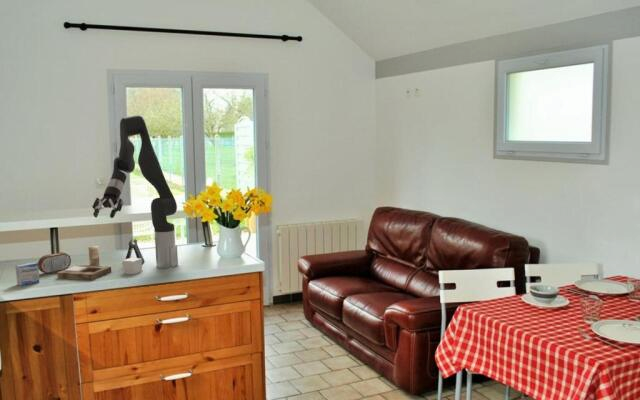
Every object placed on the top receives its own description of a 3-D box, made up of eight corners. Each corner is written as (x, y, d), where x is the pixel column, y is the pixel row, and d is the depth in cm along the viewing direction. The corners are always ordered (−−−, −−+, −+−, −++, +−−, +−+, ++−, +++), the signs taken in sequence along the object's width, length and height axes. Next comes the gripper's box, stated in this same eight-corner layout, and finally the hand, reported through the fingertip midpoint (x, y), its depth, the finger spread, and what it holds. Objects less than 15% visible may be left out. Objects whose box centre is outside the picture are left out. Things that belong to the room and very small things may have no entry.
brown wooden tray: (111, 271, 275) (111, 266, 275) (92, 280, 262) (92, 274, 261) (77, 270, 280) (77, 264, 279) (57, 278, 266) (57, 272, 266)
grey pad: (87, 267, 274) (87, 266, 274) (77, 271, 267) (77, 270, 267) (74, 266, 276) (74, 266, 276) (64, 270, 269) (64, 270, 269)
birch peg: (101, 266, 286) (100, 246, 284) (96, 268, 281) (94, 248, 280) (93, 266, 287) (92, 245, 285) (88, 268, 283) (86, 247, 281)
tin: (69, 267, 285) (67, 250, 284) (72, 268, 283) (71, 251, 282) (38, 274, 273) (36, 256, 272) (41, 275, 271) (39, 257, 270)
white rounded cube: (142, 271, 276) (141, 258, 275) (134, 274, 271) (133, 261, 270) (131, 270, 278) (130, 257, 277) (123, 273, 273) (122, 260, 272)
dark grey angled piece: (123, 265, 286) (122, 241, 285) (125, 262, 292) (124, 238, 291) (142, 264, 288) (141, 240, 286) (144, 261, 293) (143, 238, 292)
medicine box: (21, 286, 254) (19, 266, 253) (16, 284, 257) (15, 265, 256) (39, 282, 260) (38, 263, 259) (35, 280, 263) (33, 261, 262)
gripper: (97, 185, 297) (86, 212, 288) (124, 186, 294) (113, 213, 285) (104, 194, 303) (93, 220, 294) (129, 194, 300) (119, 221, 291)
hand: (103, 216), depth 290 cm, fingers open, 8 cm apart
